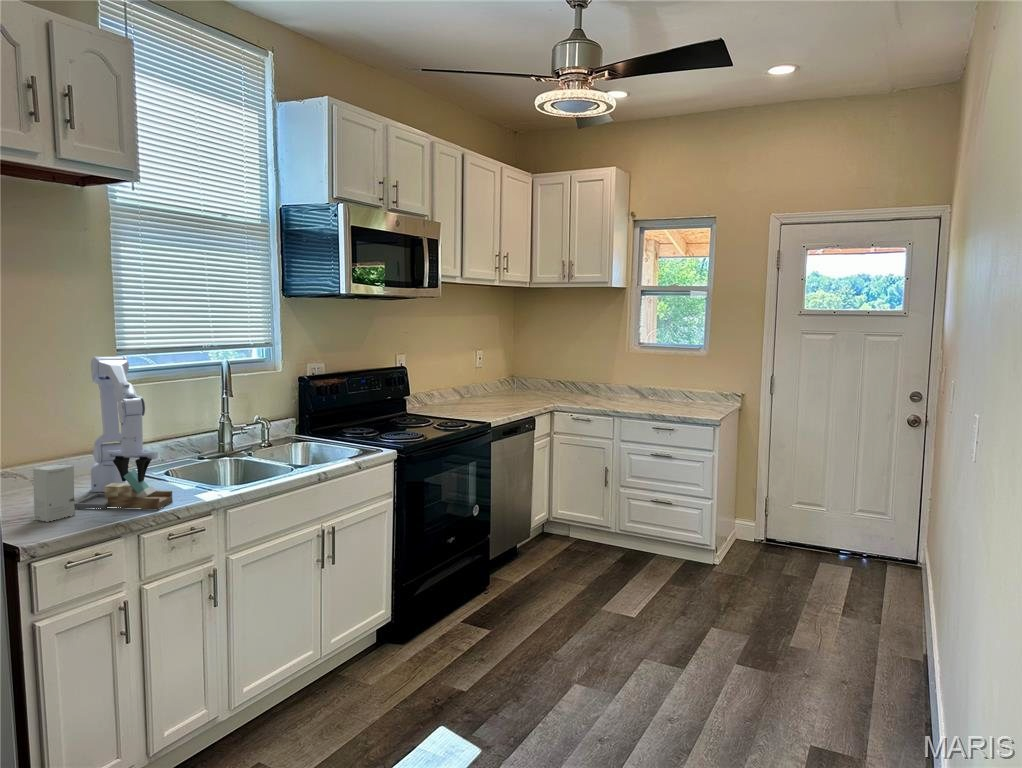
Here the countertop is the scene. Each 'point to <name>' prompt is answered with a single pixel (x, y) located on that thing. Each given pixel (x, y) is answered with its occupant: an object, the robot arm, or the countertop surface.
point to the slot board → (142, 501)
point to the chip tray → (93, 502)
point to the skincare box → (53, 492)
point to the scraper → (139, 484)
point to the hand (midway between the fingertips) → (132, 480)
